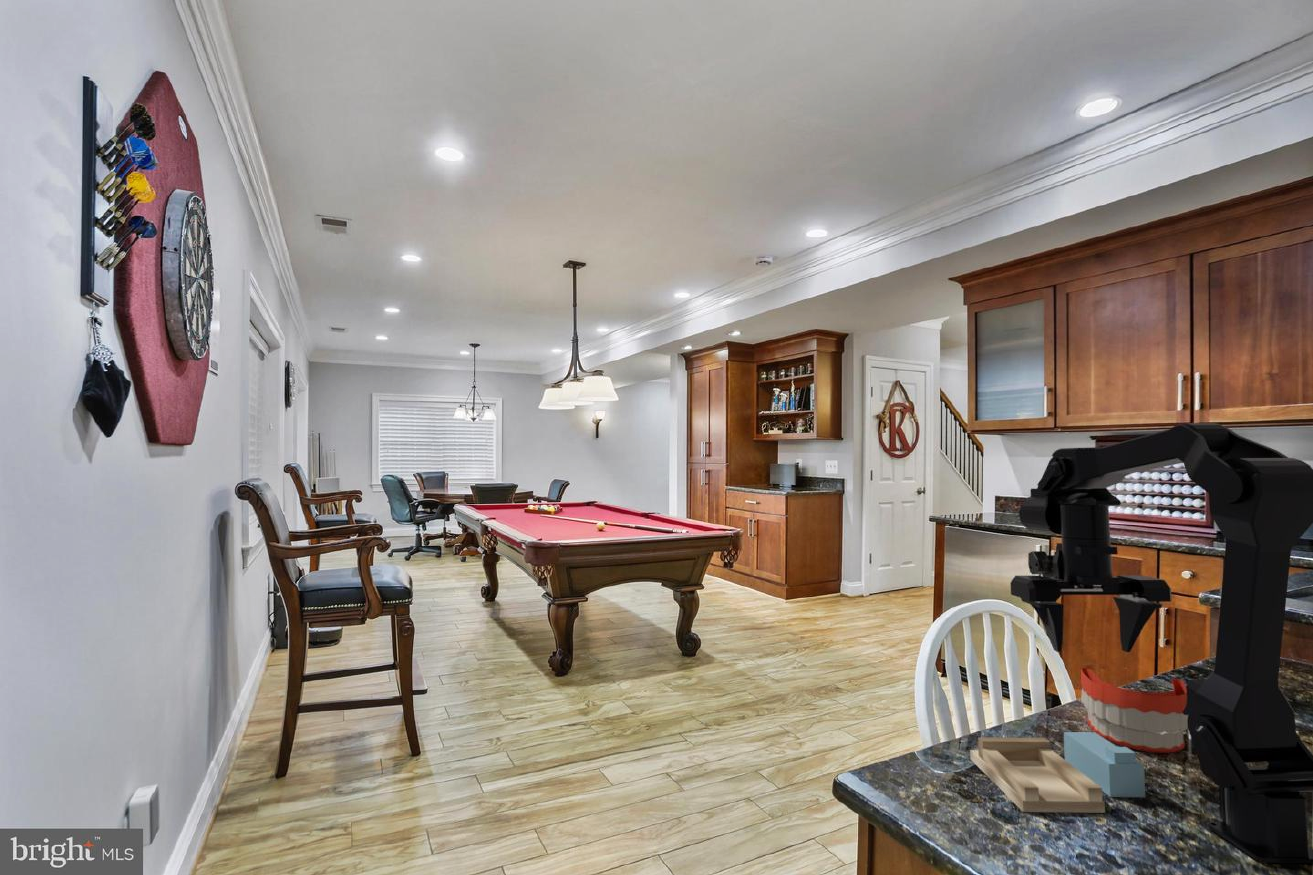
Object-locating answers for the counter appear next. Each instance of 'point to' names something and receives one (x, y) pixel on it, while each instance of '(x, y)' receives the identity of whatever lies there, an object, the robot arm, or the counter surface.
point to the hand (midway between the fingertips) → (1091, 651)
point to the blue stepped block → (1105, 764)
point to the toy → (1136, 715)
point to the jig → (1036, 776)
